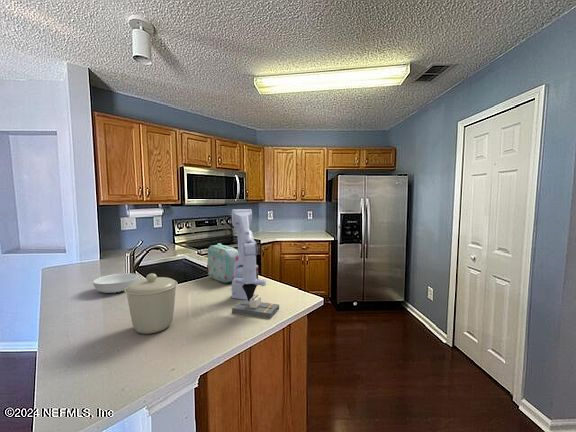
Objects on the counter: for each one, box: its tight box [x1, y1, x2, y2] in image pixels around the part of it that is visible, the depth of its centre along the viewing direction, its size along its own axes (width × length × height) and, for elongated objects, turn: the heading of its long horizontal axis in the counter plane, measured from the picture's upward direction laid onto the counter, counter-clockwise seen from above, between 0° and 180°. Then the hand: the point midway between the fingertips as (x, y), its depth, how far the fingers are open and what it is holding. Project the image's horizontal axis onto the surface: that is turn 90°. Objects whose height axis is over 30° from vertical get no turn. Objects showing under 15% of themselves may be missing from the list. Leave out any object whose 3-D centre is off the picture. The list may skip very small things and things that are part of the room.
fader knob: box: [250, 294, 262, 308], centre depth 120 cm, size 3×5×4 cm, turn 161°
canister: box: [123, 273, 179, 335], centre depth 104 cm, size 18×18×21 cm
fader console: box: [231, 299, 280, 319], centre depth 120 cm, size 18×10×2 cm, turn 71°
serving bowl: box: [92, 272, 140, 294], centre depth 148 cm, size 21×21×7 cm
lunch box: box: [206, 242, 239, 284], centre depth 166 cm, size 27×10×21 cm, turn 43°
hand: (250, 300), depth 120 cm, fingers closed
